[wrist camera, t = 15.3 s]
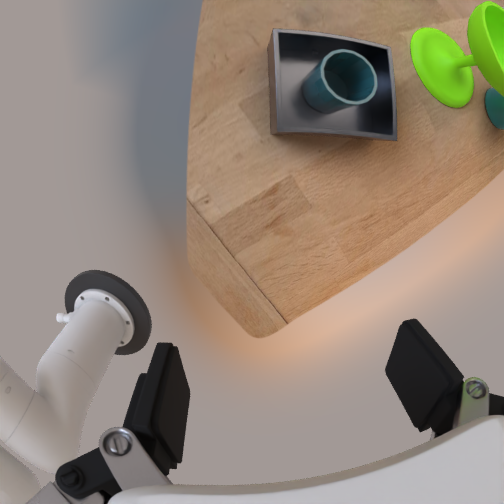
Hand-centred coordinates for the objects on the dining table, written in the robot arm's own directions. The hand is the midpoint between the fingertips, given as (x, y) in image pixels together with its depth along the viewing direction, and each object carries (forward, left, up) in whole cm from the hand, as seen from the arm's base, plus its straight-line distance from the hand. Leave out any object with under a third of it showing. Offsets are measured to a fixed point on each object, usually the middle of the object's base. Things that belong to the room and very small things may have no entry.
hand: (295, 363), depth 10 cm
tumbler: (+10, +16, -29) cm, 34 cm away
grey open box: (+10, +16, -30) cm, 35 cm away
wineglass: (+34, +26, -30) cm, 52 cm away
